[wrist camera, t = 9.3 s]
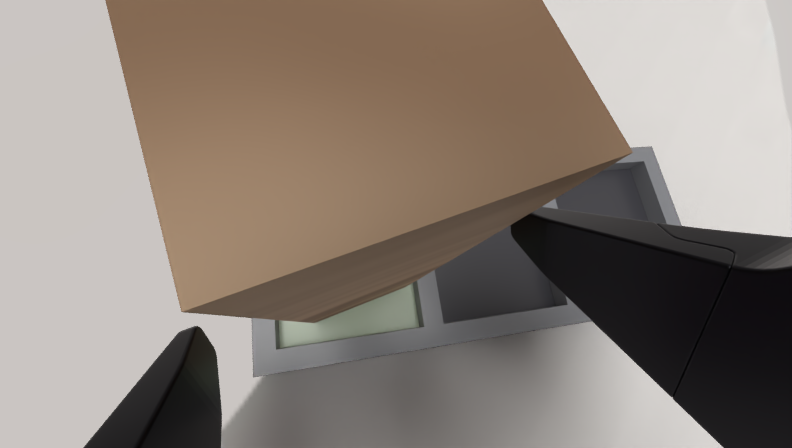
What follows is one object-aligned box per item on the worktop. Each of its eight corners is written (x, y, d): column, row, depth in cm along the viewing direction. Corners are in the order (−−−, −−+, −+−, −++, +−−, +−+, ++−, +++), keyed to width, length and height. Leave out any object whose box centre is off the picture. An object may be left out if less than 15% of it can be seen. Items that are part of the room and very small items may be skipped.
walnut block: (405, 287, 18) (632, 152, 4) (314, 323, 17) (182, 310, 3) (372, 204, 19) (461, -135, 5) (284, 232, 18) (78, -111, 4)
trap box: (633, 157, 24) (651, 146, 22) (685, 302, 21) (710, 301, 20) (254, 181, 19) (247, 170, 18) (260, 372, 16) (253, 377, 15)
